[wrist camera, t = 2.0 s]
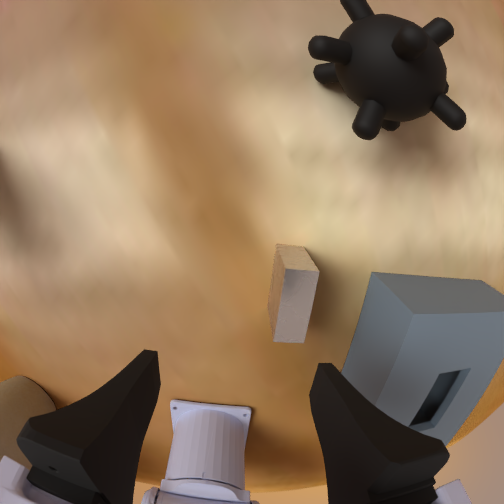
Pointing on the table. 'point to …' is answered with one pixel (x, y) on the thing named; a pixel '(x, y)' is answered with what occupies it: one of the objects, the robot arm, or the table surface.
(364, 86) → the toy ball
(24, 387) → the plant pot
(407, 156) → the table surface
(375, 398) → the grey square hole block
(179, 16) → the table surface
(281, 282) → the wooden block
